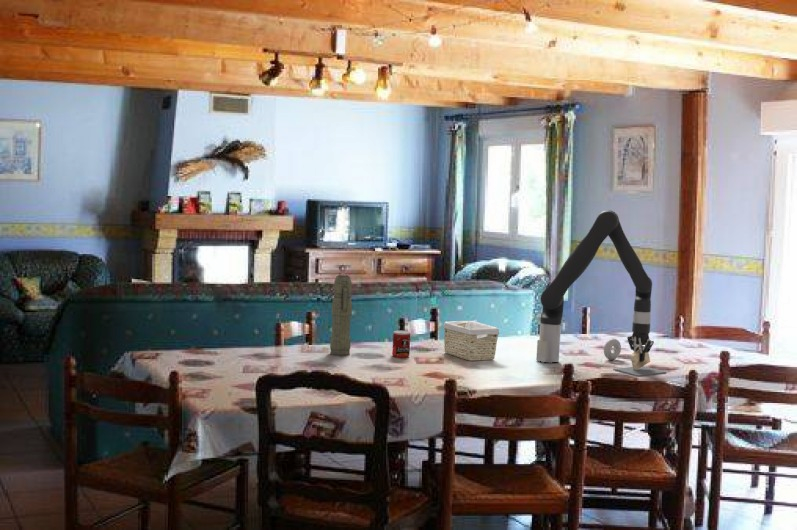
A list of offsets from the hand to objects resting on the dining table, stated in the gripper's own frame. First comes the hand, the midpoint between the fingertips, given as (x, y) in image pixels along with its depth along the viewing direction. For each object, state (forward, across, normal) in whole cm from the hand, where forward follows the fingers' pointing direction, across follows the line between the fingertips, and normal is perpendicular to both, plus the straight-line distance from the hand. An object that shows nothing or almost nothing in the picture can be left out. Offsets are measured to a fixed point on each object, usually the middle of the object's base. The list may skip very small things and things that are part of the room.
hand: (639, 360), depth 432 cm
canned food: (+4, -65, -81) cm, 104 cm away
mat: (+4, +2, -1) cm, 5 cm away
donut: (+4, -23, +8) cm, 25 cm away
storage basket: (+4, -54, -51) cm, 75 cm away
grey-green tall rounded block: (+3, -79, -104) cm, 131 cm away
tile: (+2, 0, +2) cm, 3 cm away
